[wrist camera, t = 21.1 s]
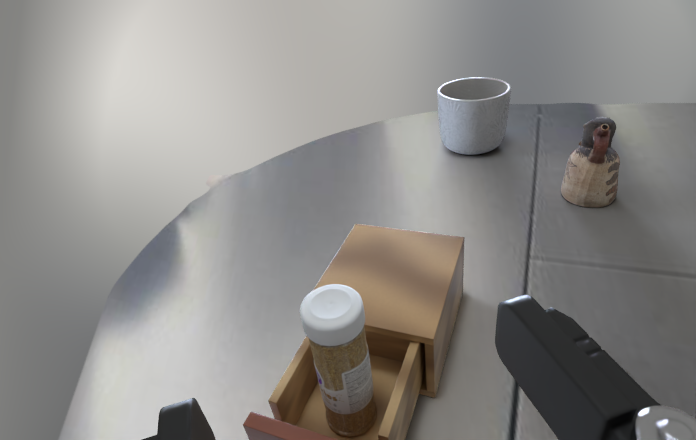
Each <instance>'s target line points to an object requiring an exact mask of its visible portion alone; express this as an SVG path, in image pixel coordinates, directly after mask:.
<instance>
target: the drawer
mask: <svg viewBox="0 0 696 440" xmlns="http://www.w3.org/2000/svg"><path fill="white" fill-rule="evenodd" d="M365 336H366V342H367V345H368V351H369V358H370V365H371V373H372V380H373V395H374V400H375V403H376V406H377V418H376V420H375V422H374V424H373V425H372V427H371V428H370V429H369V430H367V431H366V432H365V433H364V434H361V435H358V436H353V437H347V436H342V435H340V434H338V433H336V432H334V431H333V430H332V429H331V427H330V426H329V425H328V422H327V420H326V408H325V405H324V401H323V399H322V395H321V391H320V386H319V381H318V377H317V373H316V369H315V365H314V357H313V354H312V350H311V346H310V341H309V338H308V337H307V336H306V337H305V339H304V341H303V342H302V344H301V346H300V348H299V349H298V351H297V353H296V354H295V356H294V358H293V359H292V361H291V363H290V365H289V366H288V368H287V370H286V371H285V373H284V375H283V376H282V378H281V380H280V382H279V383H278V385H277V387H276V388H275V390H274V392H273V393H272V395H271V397H270V399H269V404H270V407H271V409H272V412H273V415H274V418H275V419H272V418H269V417H266V416H263V415H260V414H257V413H254V412H251V413H250V414H249V416H248V417H247V419H246V421H245V422H244V424H243V426H244V428H245V431H246V433H247V435H248V438H249V440H405V438H406V435H407V432H408V428H409V425H410V422H411V418H412V415H413V412H414V408H415V405H416V401H417V398H418V395H419V391H420V388H421V385H422V381H423V378H424V375H425V371H426V363H425V343H420V342H416V341H411V340H407V339H402V338H397V337H393V336H388V335H384V334H379V333H374V332H370V331H365Z"/></svg>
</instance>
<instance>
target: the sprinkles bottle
mask: <svg viewBox="0 0 696 440" xmlns="http://www.w3.org/2000/svg"><path fill="white" fill-rule="evenodd" d="M300 316H301V321H302V325H303V329H304V332H305V334H306V336H307V337H308V338H309V341H310V346H311V350H312V354H313V357H314V365H315V369H316V373H317V377H318V381H319V386H320V391H321V395H322V399H323V401H324V405H325V408H326V420H327V422H328V425H329V426H330V427H331V429H332V430H333V431H334V432H336V433H338V434H340V435H342V436H347V437H353V436H358V435H361V434H364V433H365V432H366V431H367V430H369V429H370V428H371V427H372V425H373V424H374V422H375V420H376V418H377V406H376V403H375V400H374V395H373V380H372V373H371V365H370V358H369V351H368V345H367V342H366V336H365V329H364V324H365V313H364V306H363V301H362V298H361V296H360V295H359V293H358V292H357V291H356V290H354V289H353V288H351V287H349V286H346V285H341V284H330V285H325V286H322V287H319V288H317V289H315V290H313V291H312V292H310V293H309V294H308V295H307V296H306V297H305V298H304V300H303V302H302V304H301V307H300Z"/></svg>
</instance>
